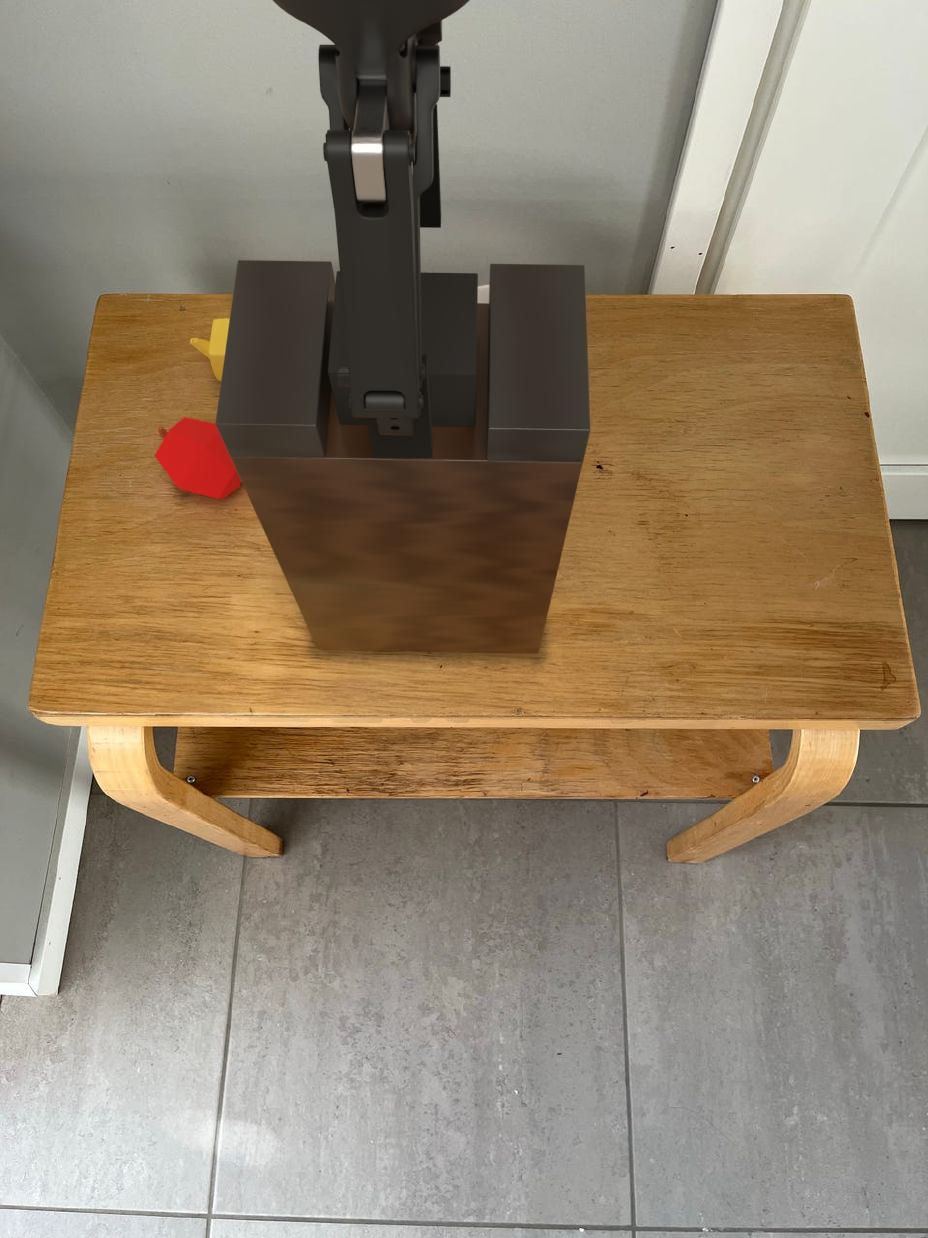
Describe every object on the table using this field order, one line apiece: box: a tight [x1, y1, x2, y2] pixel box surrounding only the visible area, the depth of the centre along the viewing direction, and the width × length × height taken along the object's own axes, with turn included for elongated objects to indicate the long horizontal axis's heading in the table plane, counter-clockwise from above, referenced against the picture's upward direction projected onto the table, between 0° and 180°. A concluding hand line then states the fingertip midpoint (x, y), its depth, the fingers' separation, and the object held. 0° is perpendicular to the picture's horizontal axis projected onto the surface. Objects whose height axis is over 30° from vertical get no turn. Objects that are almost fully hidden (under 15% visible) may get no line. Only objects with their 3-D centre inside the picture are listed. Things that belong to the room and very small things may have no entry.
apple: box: [153, 416, 242, 501], centre depth 78 cm, size 7×7×8 cm
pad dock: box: [214, 259, 591, 655], centre depth 61 cm, size 18×10×33 cm, turn 89°
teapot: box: [189, 317, 230, 382], centre depth 82 cm, size 8×6×5 cm
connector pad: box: [328, 270, 479, 427], centre depth 46 cm, size 7×6×4 cm
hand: (409, 330), depth 44 cm, fingers open, 13 cm apart
